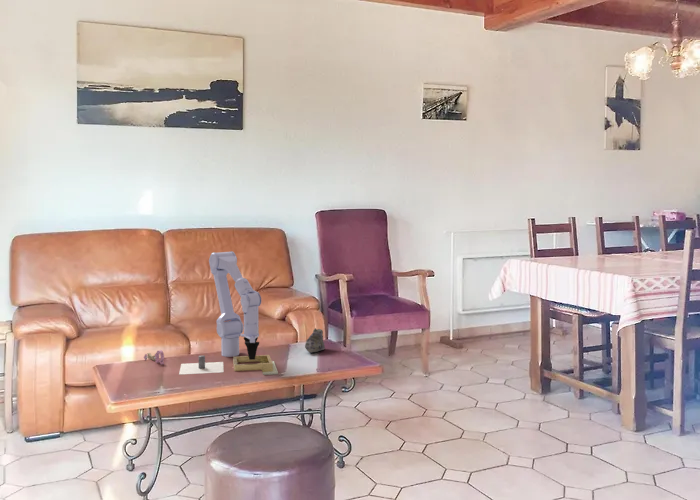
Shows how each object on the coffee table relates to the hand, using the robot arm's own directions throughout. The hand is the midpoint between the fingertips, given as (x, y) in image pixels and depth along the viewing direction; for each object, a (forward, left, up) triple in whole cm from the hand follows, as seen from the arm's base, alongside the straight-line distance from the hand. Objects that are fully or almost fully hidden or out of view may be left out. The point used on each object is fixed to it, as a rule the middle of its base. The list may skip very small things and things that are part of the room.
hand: (251, 357), depth 258 cm
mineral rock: (-19, +27, -3) cm, 34 cm away
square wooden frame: (+6, 0, -3) cm, 7 cm away
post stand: (+6, -19, -3) cm, 20 cm away
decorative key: (-11, -39, -4) cm, 40 cm away
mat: (+6, 0, -3) cm, 7 cm away
